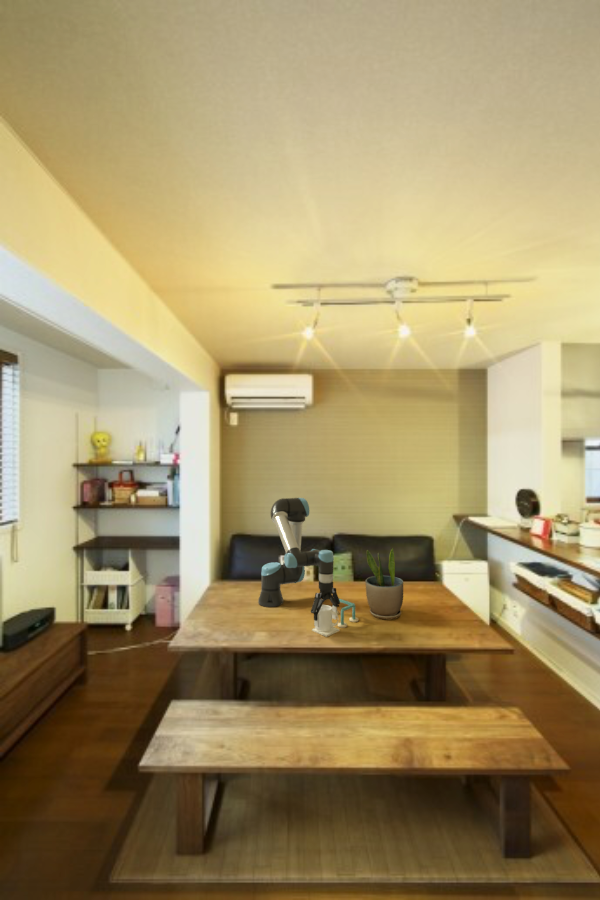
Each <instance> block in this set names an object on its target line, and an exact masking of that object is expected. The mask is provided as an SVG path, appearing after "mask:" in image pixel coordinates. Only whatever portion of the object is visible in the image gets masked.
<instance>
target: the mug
mask: <svg viewBox="0 0 600 900" xmlns="http://www.w3.org/2000/svg"><path fill="white" fill-rule="evenodd" d="M316 612H317V611H316ZM318 614H319V627H316V626H314V628H316V629H317V630H318V631H322V632H327V631H330V630H331V629H332V627H336V626H338V623H339V614H338V615H337V614H336V613H335V612H334V611H332V606H331V605H327V604H322V606H321V608H320V611H319V613H318ZM332 615H336V616H337V621H336V622H335V623H334V622H333V619H332Z"/></svg>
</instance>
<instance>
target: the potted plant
mask: <svg viewBox="0 0 600 900" xmlns="http://www.w3.org/2000/svg"><path fill="white" fill-rule="evenodd" d="M388 557H389V560H388V572H389V575H384V571H383V565H382V562H381V558H380V554H379V553H377V558H378V559H377V560H378V562H379V563H378V564H377V562H376V561H375V558H374V557H373V555H372V554H371V552H370V551H369V550H368V549H367V550H366V561H367V565H368V567H369V569H370V570H371V572H372V573H373V575H374V576H373V575H372V576H369V577H367V578H366V579H365V593H366V594H365V595H366V600H367V604H368V606H369V613H370V614H371V615H372V616H373V617H375V618H377V619H382V620H395V619H397V618H399V617H400V616H401V615H402V610H401V608H402V606H403V602H404V601H403V600H404V580H403V579H402V578H399V577H396V576H395V575H396V573H395V572H396V571H395V570H396V569H395V568H396V567H395V566H396V563H395V553H394V548H392V549H390V553H389V556H388Z"/></svg>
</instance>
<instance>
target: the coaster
mask: <svg viewBox="0 0 600 900" xmlns="http://www.w3.org/2000/svg"><path fill="white" fill-rule="evenodd" d="M311 632H314V633H316V634H319V635H322V636H323V637H325V638H328V637H329V636H332V635H334V634H336V633H338V632H340V628H338V627H336V626H334V627H332V629H331V630H330V631H327V632H322V631H318V630H317V629H316V628H315V627H314V628H312V629H311Z"/></svg>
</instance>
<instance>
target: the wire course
mask: <svg viewBox="0 0 600 900" xmlns="http://www.w3.org/2000/svg"><path fill="white" fill-rule="evenodd" d="M339 601H340V603H341V604H344V605H347V606H344V607H342V608H341V610H340V613H339V611H338V610H337V615H338V616H339V614H340V622H338V624H337V628H338V627H339V629H340V628H343V629H344V628H347V627H348V624H347V623H346V622H345V612H346V611H347V610H350V609H351V610H352V612H351V613H352V616H351V617H349V619H348V621H349V622H351V623H358V622H359V617H356V604H355V602H351V601H349V600H344V599H341V598H339ZM332 606H334V605H333V604H332Z"/></svg>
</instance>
